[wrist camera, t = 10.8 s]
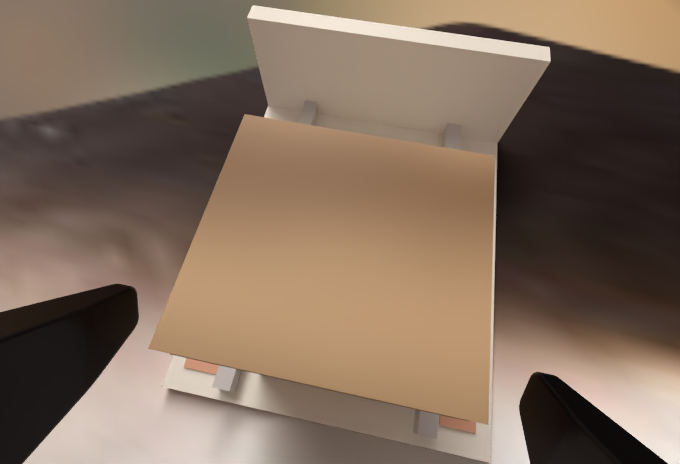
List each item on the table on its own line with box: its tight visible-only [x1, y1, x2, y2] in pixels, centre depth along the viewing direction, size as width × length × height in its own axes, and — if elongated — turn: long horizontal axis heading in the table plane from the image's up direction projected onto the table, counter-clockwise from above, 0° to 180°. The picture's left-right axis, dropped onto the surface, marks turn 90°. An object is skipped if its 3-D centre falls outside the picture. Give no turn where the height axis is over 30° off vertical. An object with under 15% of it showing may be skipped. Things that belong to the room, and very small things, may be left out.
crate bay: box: [162, 5, 551, 463], centre depth 17 cm, size 18×15×7 cm
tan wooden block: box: [148, 114, 495, 425], centre depth 12 cm, size 6×6×10 cm
